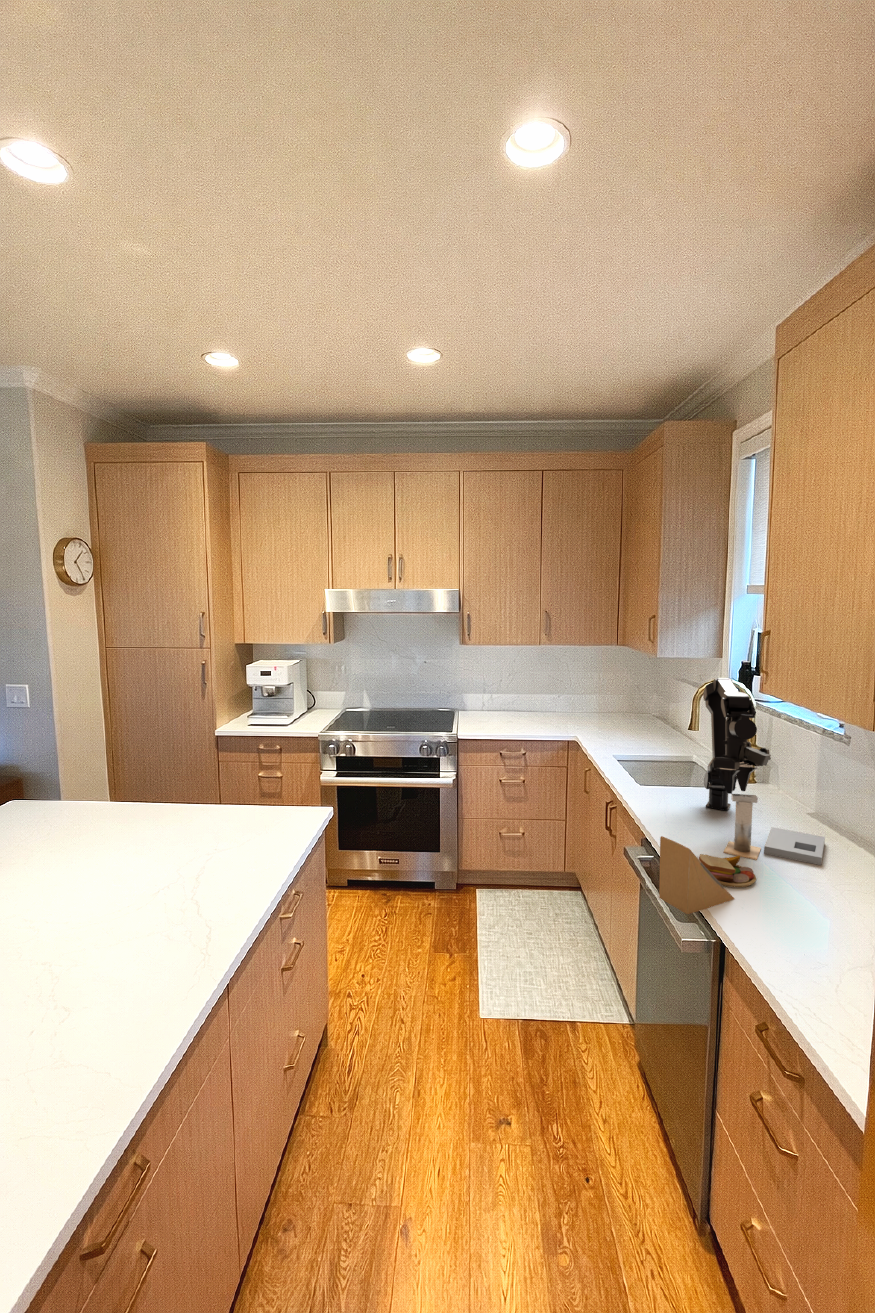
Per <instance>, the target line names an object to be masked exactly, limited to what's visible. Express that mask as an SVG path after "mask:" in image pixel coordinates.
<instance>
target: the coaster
mask: <svg viewBox="0 0 875 1313" xmlns="http://www.w3.org/2000/svg"><path fill="white" fill-rule="evenodd" d="M761 850H762V847H760V846H759V847H758V846H756V845H755V846H754V845H751V851H750V852H739V851H737V850H735V849H734V841H730V840H729V841H728V842H727V844H726V846H725V848H724V849H723V854H729V855H733V856H740V857H742V858H746V859H749V860H750V859H751V860H755V861H756V860H758V857H759V856H760V853H761Z"/></svg>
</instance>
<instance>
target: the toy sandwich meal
mask: <svg viewBox="0 0 875 1313" xmlns="http://www.w3.org/2000/svg"><path fill="white" fill-rule="evenodd" d="M698 859H699V860H700V861H701V863H702V864H703V865H704V866H705V867H706V868H707V869H708V870H709V871H710V872H711V874H712V875H713V876H714V877H715V878H716V879H717V880H718V881H719V882H720V884H721V885H722V886H723V887H728V888H746V887H749V886H751V885H753V884H754V883H755V882H756V881H757V876H756V874H755V873H754V870H753V869H752V868H751V867H748V866H741V865H739V864H738V863H739V862H740V860H741V856H736V855H734V856H731V857H718V856H712V855H708V854H704V853H703V854H702V853H701V854H699V856H698Z"/></svg>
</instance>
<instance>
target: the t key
mask: <svg viewBox="0 0 875 1313" xmlns="http://www.w3.org/2000/svg"><path fill="white" fill-rule="evenodd" d="M730 795H731V796H730V797H731V799H730V800H732V802H735V818H734V840H733V842H734V849H735V850H737V851H739V852H750V851H751V846H752V829H753V827H752V825H753V824H752V823H753V804H757V803H758V799H759V798H758V796H757V795H756V794H742V793H741V794H740V793H732V794H730Z"/></svg>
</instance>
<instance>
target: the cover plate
mask: <svg viewBox="0 0 875 1313" xmlns="http://www.w3.org/2000/svg"><path fill="white" fill-rule="evenodd" d="M825 840H826V837H825V836H822V835H817V834H813V833H812V834H811V833H805V832H800V831H795V830H790V829H785V828H779V827H775V826H771V828H770V830H769V833H768V836H767V838H766V841H765V844H764V846H763V854H766V855H771V856H775V857H780V858H786V859H789V860H795V861H799V862H804V863H808V864H812V865H813V864H814V865H818V866H822V863H823V855H824V851H825V842H826V841H825Z"/></svg>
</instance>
